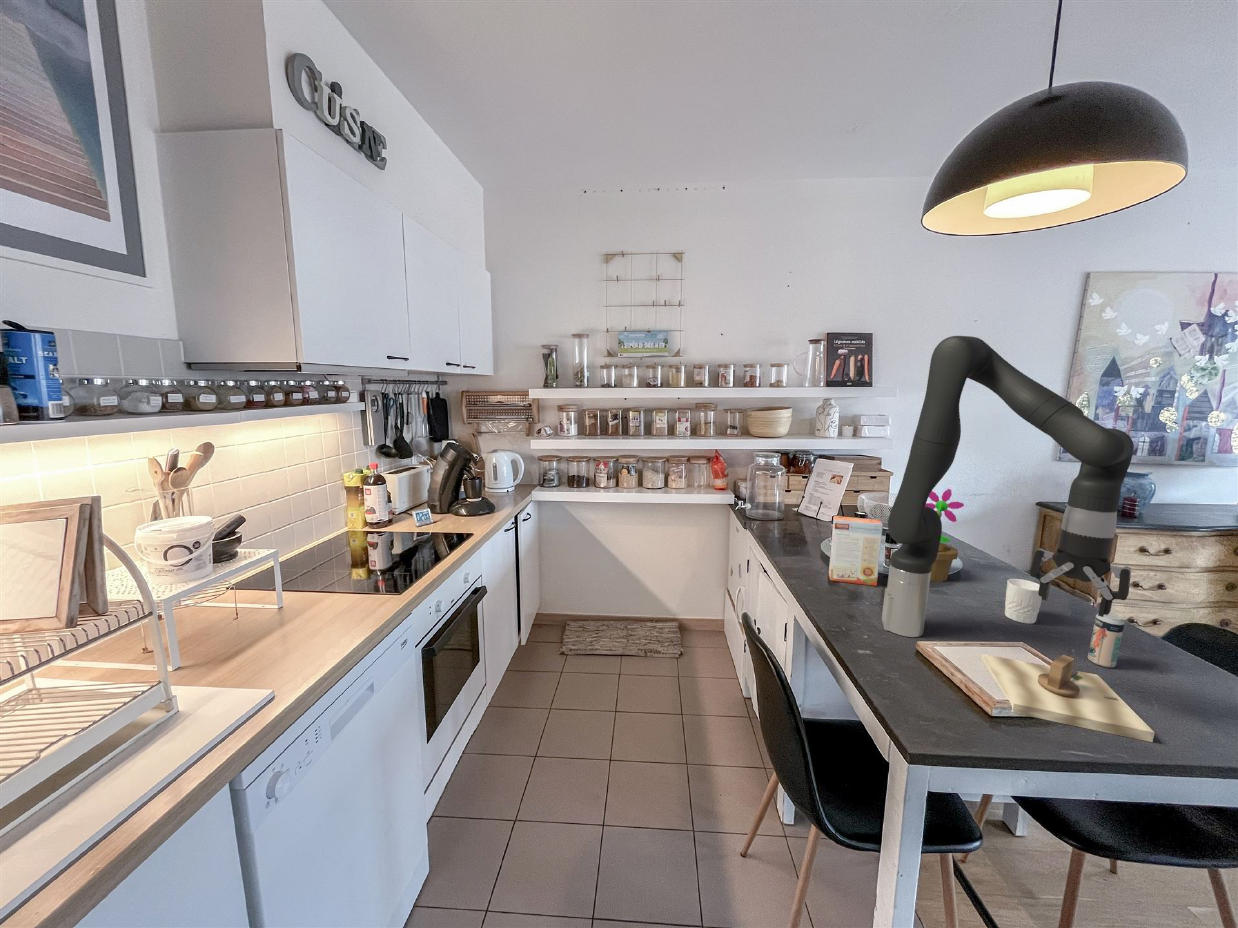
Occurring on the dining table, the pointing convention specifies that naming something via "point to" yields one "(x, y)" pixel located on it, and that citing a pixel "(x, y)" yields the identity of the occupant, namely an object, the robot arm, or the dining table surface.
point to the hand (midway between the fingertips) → (1072, 607)
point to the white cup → (1022, 600)
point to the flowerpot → (945, 551)
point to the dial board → (1066, 699)
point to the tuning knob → (1060, 677)
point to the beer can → (1106, 640)
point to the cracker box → (855, 550)
